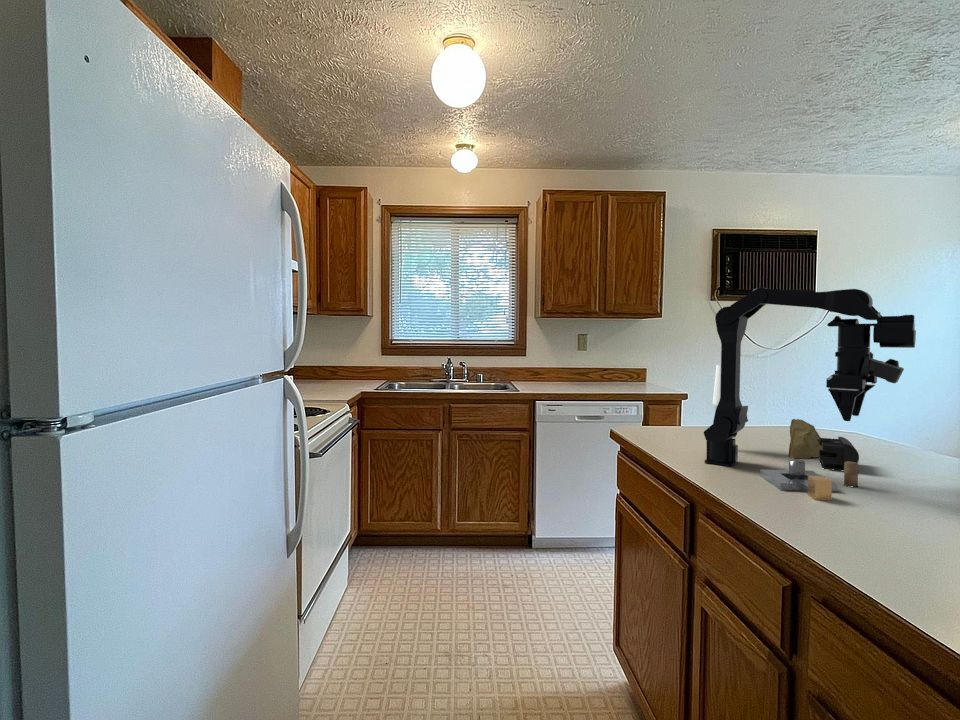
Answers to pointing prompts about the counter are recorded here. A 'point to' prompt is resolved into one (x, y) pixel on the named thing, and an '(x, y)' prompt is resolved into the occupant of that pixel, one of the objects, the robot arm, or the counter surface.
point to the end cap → (836, 453)
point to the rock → (803, 440)
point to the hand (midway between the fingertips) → (851, 418)
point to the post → (796, 469)
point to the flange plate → (802, 483)
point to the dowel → (851, 473)
